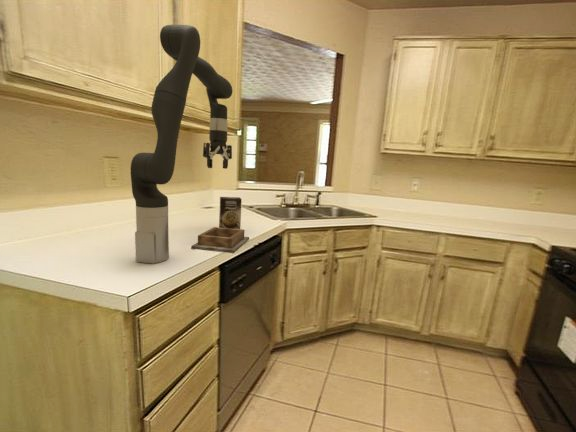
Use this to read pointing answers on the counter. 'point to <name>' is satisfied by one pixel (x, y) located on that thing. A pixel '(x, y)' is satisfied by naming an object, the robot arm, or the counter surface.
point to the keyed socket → (221, 240)
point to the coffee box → (230, 212)
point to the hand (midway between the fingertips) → (217, 168)
